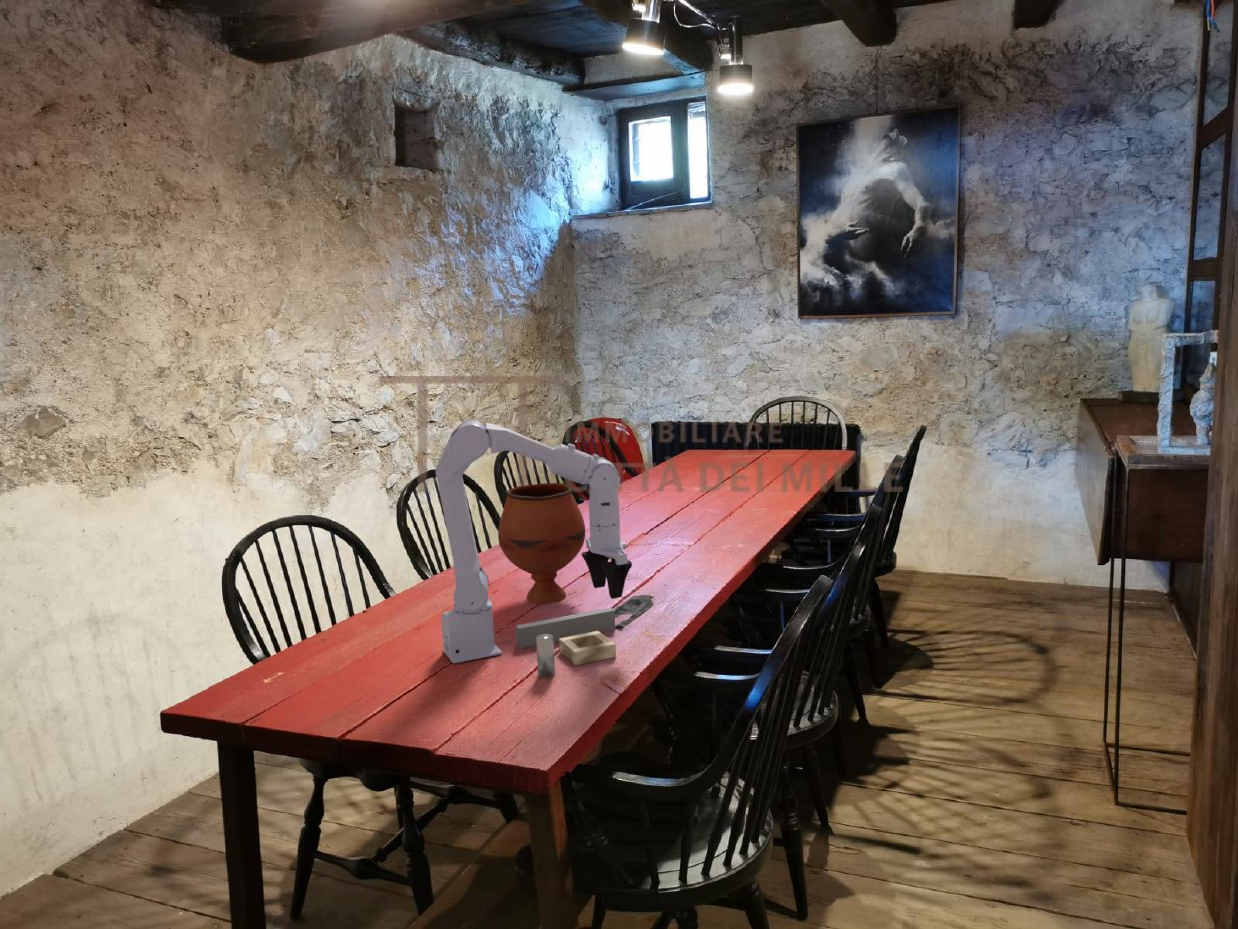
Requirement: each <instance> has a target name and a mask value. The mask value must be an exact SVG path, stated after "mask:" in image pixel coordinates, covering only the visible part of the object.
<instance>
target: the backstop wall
mask: <svg viewBox="0 0 1238 929" xmlns="http://www.w3.org/2000/svg"><path fill="white" fill-rule="evenodd" d="M615 624H616V618H615V610H614V608H611V607H607V608H606V607H605V608H602V609H596V610H591V611H586V612H579V613H574V614H571V615H565V616H559V617H554V618H549V619H542V620H538V621H533V622H527V623H522V624H517V625H515V634H516V646H517V647H518V648H519V649H525V648H530V647H535V646H536V637H537V636H538V635H541V634H550V635H553V643H554V642H559V638H564V637H569V636H575V635H580V634H585V633H590V632H595V631H599V632H600V633H605V632H610V631H615V630H616V625H615ZM536 647H537V646H536Z"/></svg>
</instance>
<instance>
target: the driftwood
mask: <svg viewBox="0 0 1238 929" xmlns="http://www.w3.org/2000/svg"><path fill="white" fill-rule="evenodd" d="M654 598H655V596H653V595H650V594H642V595H632V597H630V598H629V599H626V600H625V601H624V602H623V603H622V604H620V605H617V606H616V607H615V608H613V610H615V619H616V618H619V617H620V616H622V615H630V616H629V618H628V619H627V618H626V619H624V620H621V621H620V622H619V623H618V624H617V623H615V628H618V627H621V628H624V627H626V626H627V625H628V624H629V623H630V622H631V621H633V620H635V618H637V617H638V616H640V615H641V614H643V613H644V612H646V611H647V610H649V609H650V608H651V607H653V606H654V602H653V599H654Z"/></svg>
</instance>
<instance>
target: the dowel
mask: <svg viewBox="0 0 1238 929" xmlns="http://www.w3.org/2000/svg"><path fill="white" fill-rule="evenodd" d="M554 648H555V647H554V642H553V635H550V634H541V635H538V636H537V637H536V660H537V676H538V677H539V678H542V679H549V678H550V679H551V678H552V677H554V676H556V666H555V664H556V663H555V650H554Z"/></svg>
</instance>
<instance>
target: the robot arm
mask: <svg viewBox="0 0 1238 929" xmlns="http://www.w3.org/2000/svg"><path fill="white" fill-rule="evenodd" d="M489 448H490V454H497V453H502V452H505V451H507V452H508V451H509V452H511V453H514V454H517V455H520V456H523V457H526V458H529V459H531V460H535V461H538V462H541V463H544V464H546V465H547V467H548V470H549V471H550V473H551V474H553V475H557V476H559V477H561V478H564V479H567V480H569V481H572V482H574V483H577V484H580V485H589V487H588V488H589V491H588V492H589V499H588V517H589V536H590V537H585V548H586V549H587V551H584V552H581V557H582V559H584V562H585V565H586V566H587V568H588V572H589V575H590V578H591V582H592V586H593V588H594V589H599V588H603V587H605V586H606V583H607V589H608V595H609V597H610V599H611V600H612V599H614V600H615V599H619V598H622V597H623V592H624V587H625V583H626V580H627V577H628V574H629V572H630V570H631V568H632V566H633V562H632V561H631V560H629V559H628V553H627V552H626V551H625V548H627V543H626V542H623V541H621V524H620V523H621V522H620V521H621V520H620V499H619V490H618V489H619V487H620V485H621V477H620V473H619V471H618V469H617V467H616V466H615V465H614V464H613V463H612V462H611V461H610V460H608V459H606V458H605V457H600V456H599V455H598V454H595V453H593V454H592V455H591V454H589V453H587V452H584V451H580V450H579V449H577V448H576V445H575V444H572V443H570V442H569V443H568V444H567V445H566V444H559V445H557V446H554V447H551V446H549V445H547V444H545V443H542V442H539V441H538V440H535V439H532V438H531V437H528V436H526V435H523V434H521V433H518V432H516V431H513V430H511V429H509V428H506V427H503V426H501V425H497V424H495V423H490V422H486V424H485V423H484V422H483V421H482V420H479V419H477V418H471V419H470V418H469V419H466V420H464V421H462V422H461V423H460V424H459V425H458V426H457V427H456V428H455V429H454V430H453V431H452V432H451V433H450V436H449V438H448V440H447V442H446V444H445V447H444V449H443V450H442V453H441V455H440V458H439V460H438V462H437V465H436V467H435V477H436V481H437V486H438V491H439V497H440V500H441V505H442V506H441V507H442V511H443V516H444V522H445V527H446V532H447V536H448V541H449V546H450V551H451V555H452V556H451V557H452V561H453V570H454V572H453V574H454V580H455V588H454V591H453V601H454V604H453V607H452V609H449V610H448V611H447V610H446V611H444V612H442V613H441V633H442V646H443V648H442V651H443V652H444V653H445V655H446V656H447V658H448V659H449V660H450V662H451V663H452V664H458V663H464V662H468V661H472V660H473V661H474V660H479V659H483V658H489V657H494V656H499V655H502V652H503V651H502V650H501V649H500V648H499V647H498V646H497V645H496V644H495V630H494V628H495V627H494V617H493V616H494V614H493V602H492V600H490V599H489V592H488V590H489V585H490V580H489V576H488V574H487V572H485V570H484V569H483V567H482V566H481V565H482V564H481V560H480V557H479V554H478V550H477V545H476V539H475V533H474V530H473V529H474V528H473V524H472V518H471V513H470V509H469V504H468V503H469V502H468V497H467V494H466V487H465V483H464V478H463V475H464V473H465V472H466V471H467V470H468V469H469V468H470V466H471V464H473V463H475V462H476V461H477V460H479V459H480V458H482V457H483V456H484V455H485V454H486V453H487V451H488V449H489ZM609 559H610V561H609Z"/></svg>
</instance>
